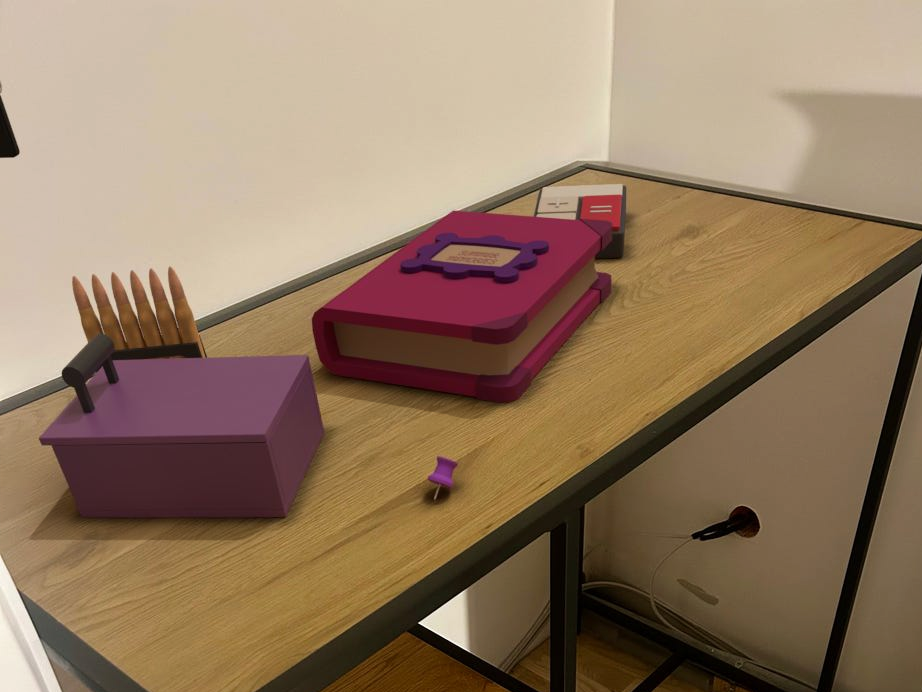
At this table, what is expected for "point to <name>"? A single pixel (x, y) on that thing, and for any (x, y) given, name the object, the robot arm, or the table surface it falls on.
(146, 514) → the box
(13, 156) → the robot arm
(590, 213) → the calculator
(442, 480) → the pushpin
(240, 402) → the lid
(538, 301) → the book
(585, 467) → the table surface
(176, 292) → the ammunition clip
